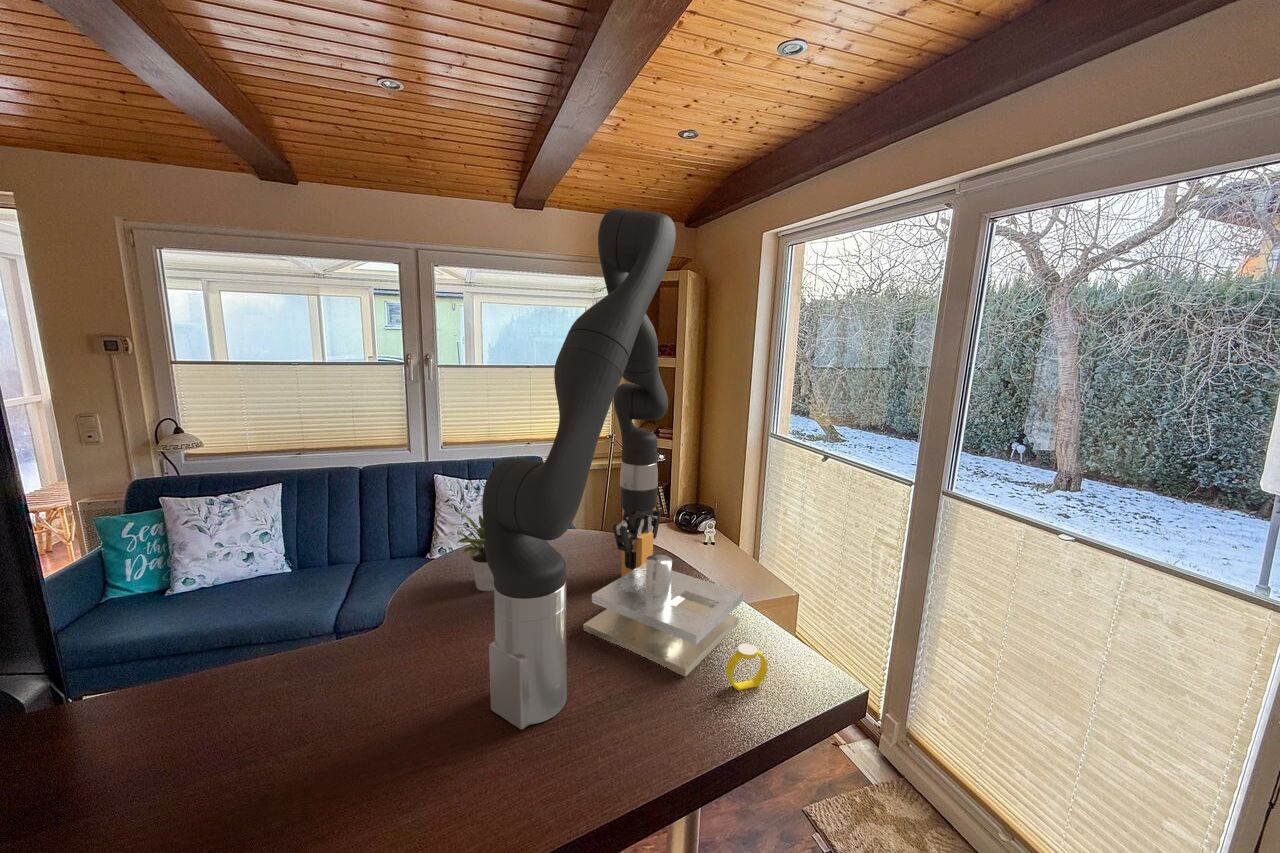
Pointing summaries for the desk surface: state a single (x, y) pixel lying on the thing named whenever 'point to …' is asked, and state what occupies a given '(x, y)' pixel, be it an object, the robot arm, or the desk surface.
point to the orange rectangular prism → (639, 551)
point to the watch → (748, 653)
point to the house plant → (478, 556)
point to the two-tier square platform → (664, 614)
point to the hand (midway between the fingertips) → (637, 563)
